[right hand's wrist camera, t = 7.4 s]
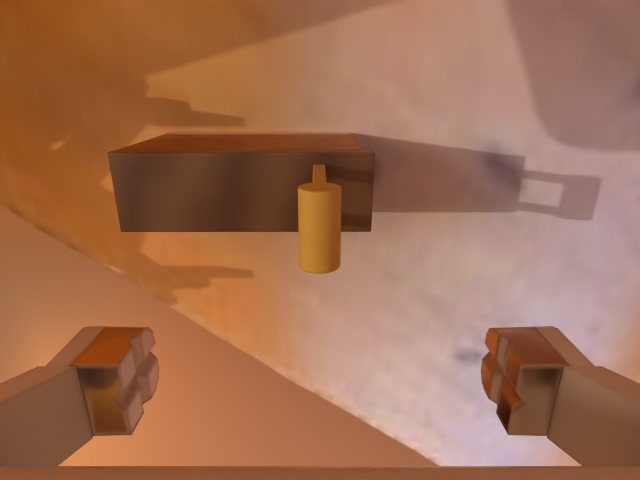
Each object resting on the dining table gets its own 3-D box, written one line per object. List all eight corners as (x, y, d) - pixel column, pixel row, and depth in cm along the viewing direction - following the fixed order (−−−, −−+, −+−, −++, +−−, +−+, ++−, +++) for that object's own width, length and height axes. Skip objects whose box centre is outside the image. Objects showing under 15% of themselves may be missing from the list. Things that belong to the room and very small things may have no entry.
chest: (350, 132, 35) (362, 149, 25) (349, 190, 36) (359, 227, 27) (169, 132, 35) (114, 149, 25) (176, 191, 36) (127, 227, 27)
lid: (372, 150, 25) (396, 179, 18) (369, 227, 27) (389, 284, 19) (114, 150, 25) (23, 179, 17) (127, 227, 27) (49, 285, 19)
